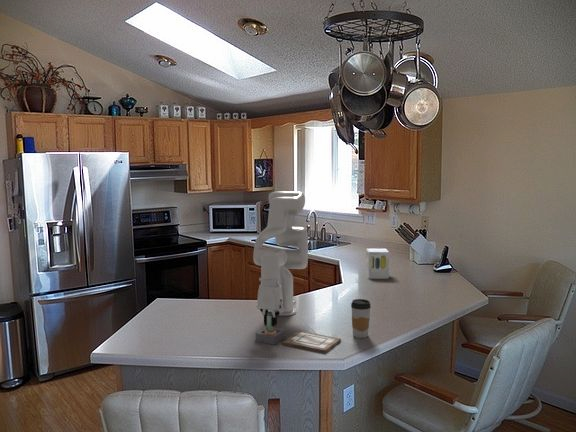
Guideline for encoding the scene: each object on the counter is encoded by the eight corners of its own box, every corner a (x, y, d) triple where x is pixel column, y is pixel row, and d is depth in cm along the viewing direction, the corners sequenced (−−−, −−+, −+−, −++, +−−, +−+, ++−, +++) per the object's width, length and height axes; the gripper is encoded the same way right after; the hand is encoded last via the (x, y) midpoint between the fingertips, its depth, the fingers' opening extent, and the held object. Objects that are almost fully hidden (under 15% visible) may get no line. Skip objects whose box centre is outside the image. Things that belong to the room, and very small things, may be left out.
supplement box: (367, 278, 314) (368, 251, 313) (365, 274, 328) (365, 248, 326) (388, 278, 314) (389, 251, 312) (385, 274, 327) (386, 248, 325)
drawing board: (300, 333, 214) (300, 330, 214) (340, 341, 204) (340, 338, 204) (282, 344, 201) (282, 341, 201) (325, 353, 191) (325, 350, 191)
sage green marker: (269, 329, 208) (269, 310, 208) (275, 330, 207) (275, 311, 206) (265, 331, 206) (265, 312, 205) (271, 332, 204) (271, 313, 203)
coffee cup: (368, 332, 216) (368, 298, 214) (371, 338, 207) (372, 304, 206) (349, 332, 215) (349, 298, 214) (352, 339, 207) (352, 304, 205)
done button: (268, 333, 210) (268, 328, 210) (278, 335, 207) (278, 330, 207) (262, 336, 206) (262, 332, 205) (272, 338, 203) (272, 334, 203)
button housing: (267, 334, 213) (267, 326, 212) (285, 337, 208) (285, 330, 208) (255, 340, 205) (255, 332, 205) (274, 344, 201) (274, 336, 200)
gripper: (248, 281, 205) (249, 324, 207) (282, 286, 197) (282, 330, 199) (258, 277, 211) (258, 319, 213) (291, 282, 203) (291, 325, 205)
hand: (270, 324), depth 206 cm, fingers closed on sage green marker, 3 cm apart
